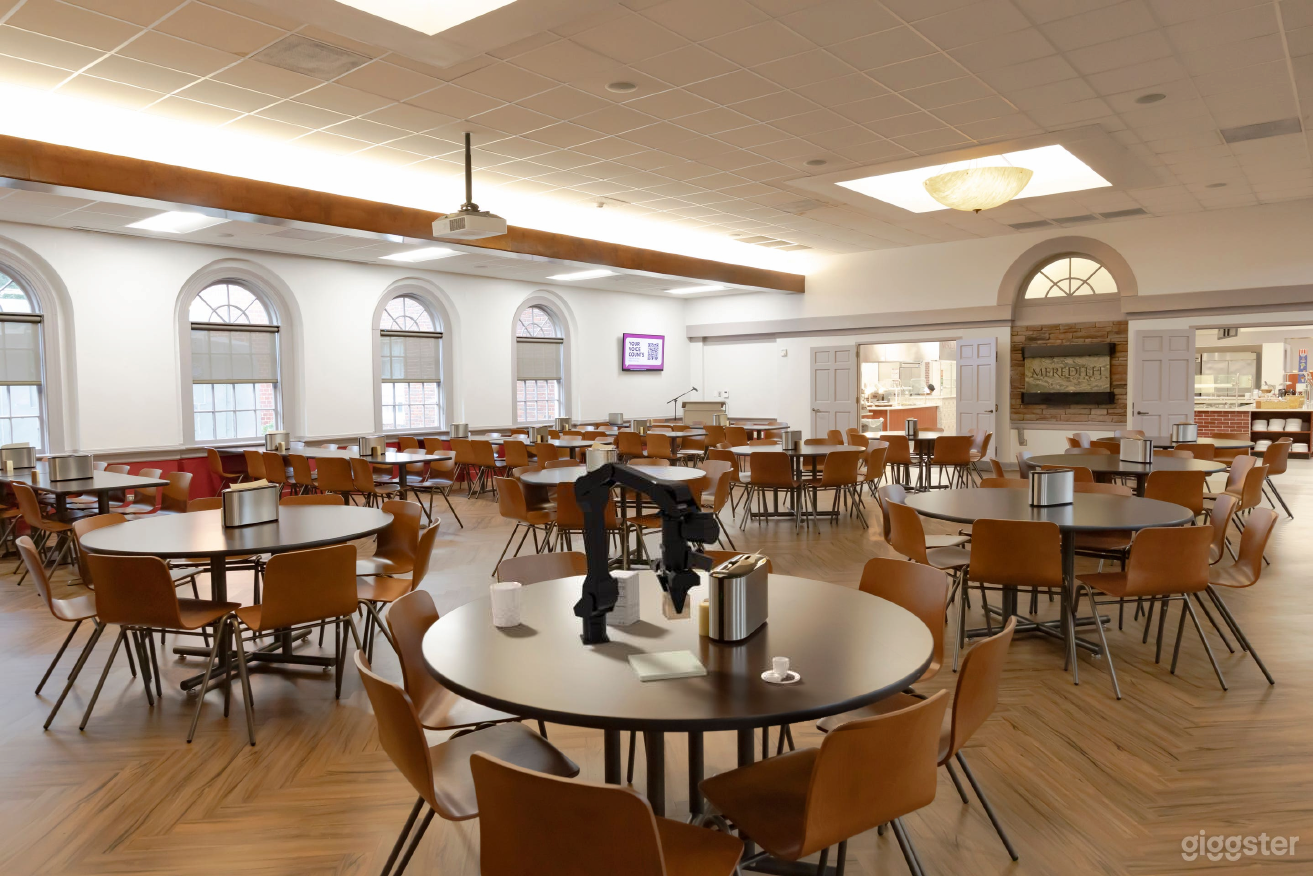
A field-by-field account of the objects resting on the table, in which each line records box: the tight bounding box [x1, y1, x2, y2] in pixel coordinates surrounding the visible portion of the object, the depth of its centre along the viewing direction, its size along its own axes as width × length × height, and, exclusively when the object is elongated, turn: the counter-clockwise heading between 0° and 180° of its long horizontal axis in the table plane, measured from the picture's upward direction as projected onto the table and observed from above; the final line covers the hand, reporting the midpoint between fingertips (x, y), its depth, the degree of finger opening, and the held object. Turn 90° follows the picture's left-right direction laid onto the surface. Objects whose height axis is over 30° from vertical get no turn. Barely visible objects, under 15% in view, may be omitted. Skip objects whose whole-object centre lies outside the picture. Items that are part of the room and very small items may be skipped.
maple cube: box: [661, 591, 691, 621], centre depth 181 cm, size 5×5×5 cm
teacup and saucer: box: [761, 656, 801, 684], centre depth 170 cm, size 9×8×4 cm
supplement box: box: [606, 569, 641, 627], centre depth 213 cm, size 7×7×13 cm
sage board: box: [627, 649, 707, 682], centre depth 177 cm, size 14×14×1 cm
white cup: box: [490, 581, 522, 628], centre depth 213 cm, size 8×8×10 cm
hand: (675, 610), depth 181 cm, fingers closed on maple cube, 5 cm apart
